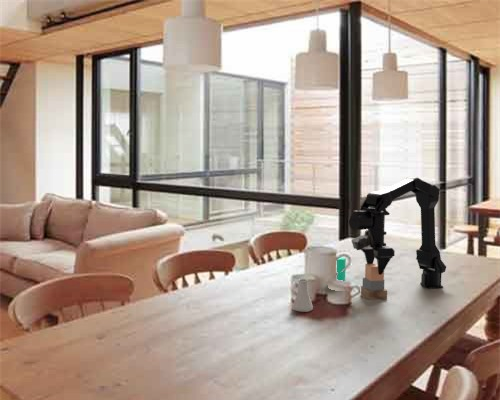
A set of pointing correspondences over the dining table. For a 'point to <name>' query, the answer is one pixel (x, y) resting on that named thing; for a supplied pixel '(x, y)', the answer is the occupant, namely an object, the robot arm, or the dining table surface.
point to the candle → (341, 268)
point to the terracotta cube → (373, 272)
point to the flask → (302, 298)
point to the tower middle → (373, 284)
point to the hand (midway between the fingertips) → (374, 271)
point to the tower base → (374, 294)
